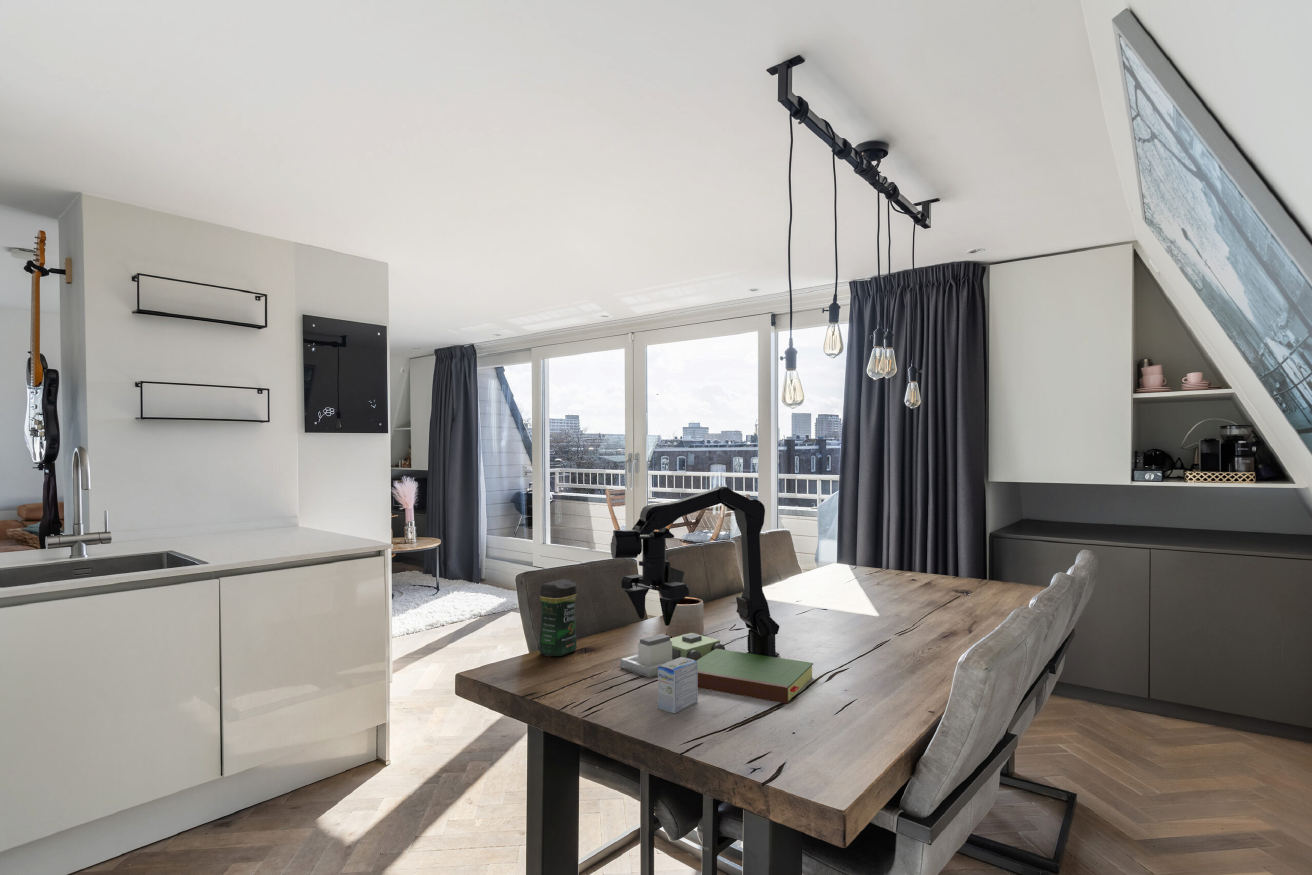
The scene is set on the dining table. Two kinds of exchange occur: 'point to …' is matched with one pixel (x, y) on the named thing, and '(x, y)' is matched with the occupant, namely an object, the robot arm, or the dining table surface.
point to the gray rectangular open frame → (639, 666)
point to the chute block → (655, 650)
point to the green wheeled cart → (693, 646)
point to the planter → (687, 618)
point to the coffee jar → (558, 618)
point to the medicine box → (677, 684)
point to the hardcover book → (753, 675)
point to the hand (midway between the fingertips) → (654, 621)
